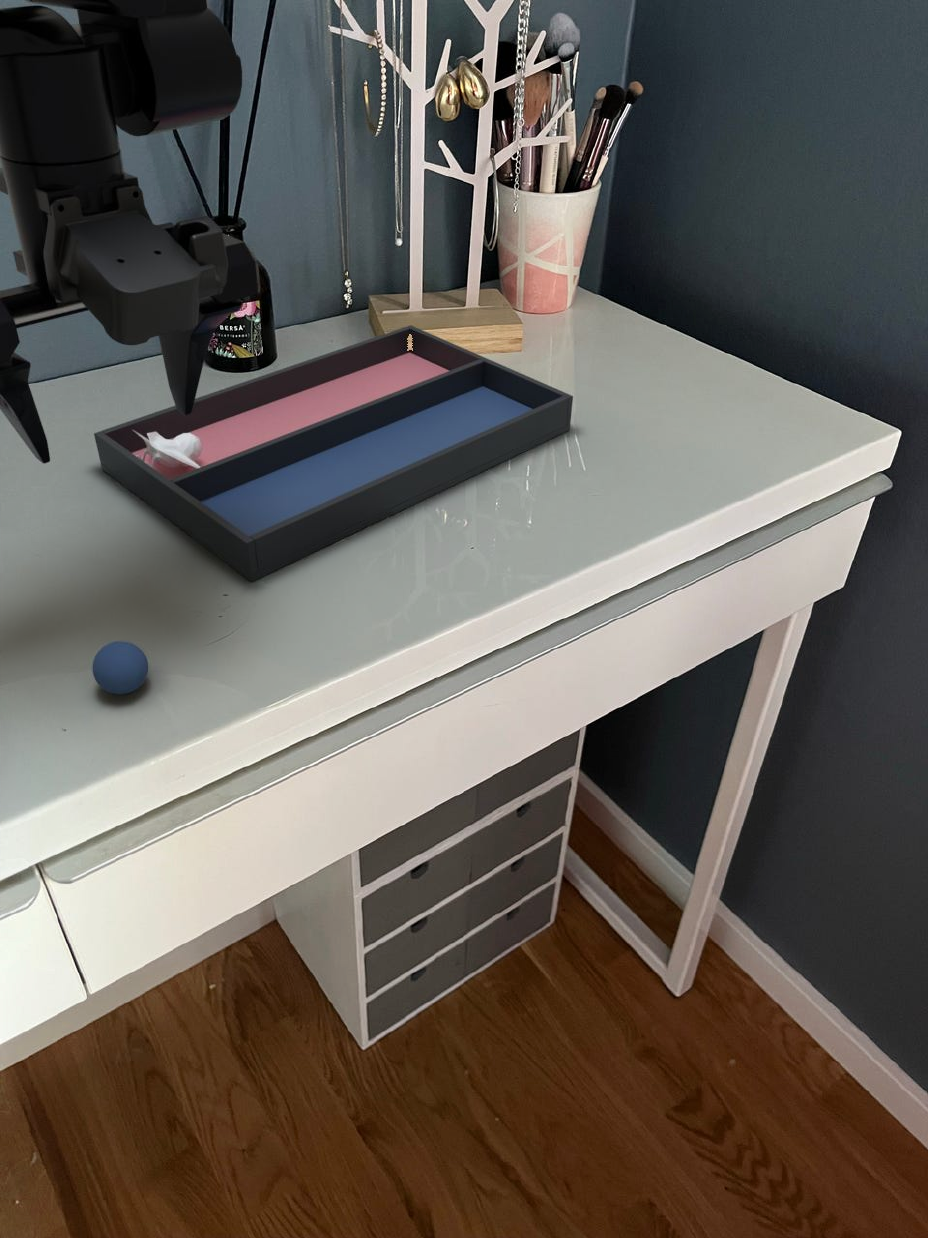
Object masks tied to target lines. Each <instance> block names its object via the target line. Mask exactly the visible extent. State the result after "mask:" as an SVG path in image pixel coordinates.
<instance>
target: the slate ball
mask: <svg viewBox="0 0 928 1238" xmlns="http://www.w3.org/2000/svg"><path fill="white" fill-rule="evenodd" d="M148 672H149V661H148V658H147V655H146V654H145V651H143V649H141V648H140V647H139V646H138V645H136V644H135V643H132V642H130V641H126V640H125V641H124V640H118V641H112V642H109V643H107V644H106V645H104V646H102V647H101V648H100V649H99V650H98V651H97V652H96V654H95V656H94V658H93V661H92V676H93V678H94V680H95V682H96V683H97V684H98V686H99V687H100V688H102V689H103V690H105V691H106V692H109V693H111V694H115V695H125V694H129V693H131V692H135V690H137V689H139V688H140V687H141V686H142V685H143V684H144V682H145V681H146V679H147V676H148V674H149V673H148Z"/></svg>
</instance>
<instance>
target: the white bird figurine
mask: <svg viewBox="0 0 928 1238" xmlns="http://www.w3.org/2000/svg"><path fill="white" fill-rule="evenodd" d="M133 431H134V430H133ZM134 432H135V433H137V432H136V431H134ZM137 434H138V435H139V436H140V437H141V438H143V439H144V441H145V443H146V445H147V448H146V450H145V451H144V454H143V458H141V457H140V456H139V455H136V456H137V457H138V458H139V459H141V460H142V461H143V462H144V459H145V456H146V453H147V454H149V455H150V456H151V457H152V458H153V459H152V463H151V465H149V464H148V463H147V462H145V463H146V464H148V465H149V466H150V467H152V468H153V464H154V461H155V460H156V461H157V462H158V463H160V464H162V465H164V466H166V467H173V468H174V467H177V466H179V465H182V466H186V467H187V466H188V465H191V466H193V467H196V468H200V466H199V465H198V464H196V463H195V462H194V461H195V460H197V459H198V458H199V456H200V455H201V451H202V445H201V441H200V440H199V437H198V438H197V437H196V436H195V435H193V434H191V433H183V434H181V435H178V436H177V437H175V438H174V439H173V440H169V439H165V438H163V437H162V436H160V435H159V434H158V433H157V432H151V433H147V435H148V438H149V440H148V439H147V438H145V437H144V436H142V435H141V434H139V433H137Z"/></svg>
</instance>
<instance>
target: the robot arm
mask: <svg viewBox="0 0 928 1238" xmlns="http://www.w3.org/2000/svg"><path fill="white" fill-rule="evenodd" d="M24 1H25V2H27V3H31V4H34V5H23V6H12V7H0V164H1V167H0V192H1V193H3V194H5V195H7V196H8V199H9V203H10V207H11V212H12V216H13V220H14V225H15V228H16V233H17V237H18V241H19V242H18V243H19V246H20V249H21V250H20V249H19V250H15V251H12V254H13V259H14V264H15V267H16V271H17V272H18V273H20V274H22V275H23V276H26V277H27V280H28V284H24V285H19V286H15V287H11V288H6V289H2V290H0V411H1V412H2V414H3V416H4V417H5V418H6V419H7V421H8V422H9V423H10V425H11V426H12V427H13V429H14V430H15V432H16V433H17V434H18V436H19V437H20V439H22V441H23V442H24V444H25V445H26V447H27V448H28V449H29V450H30V452H31V453H32V454H33V456H34V457H35V459H36V460H38V461H39V462H41V463H42V464H44V465H45V464H48V463H50V462H51V454H50V449H49V443H48V439H47V435H46V432H45V429H44V427H43V423H42V420H41V417H40V414H39V411H38V409H37V405H36V402H35V400H34V399H35V398H34V396H33V393H32V390H31V388H30V385H29V377H30V373H31V372H30V371H31V367H32V365H31V364H32V363H31V362H30V361H29V360H27V359H26V358H24V357H22V356H21V355H19V354H18V353H16V352H15V351H16V350H17V348H18V346H19V345H20V343H21V340H20V337H19V333H18V330H17V329H20V328H24V327H28V326H32V325H35V324H40V323H45V322H48V321H52V320H57V319H60V318H64V317H68V316H71V315H76V314H79V313H83V312H88V311H89V312H90V313H91V315H92V316H93V317H94V318H95V319H96V320H97V321H98V322H99V323H100V324H101V326H102V327H103V329H104V331H105V333H106V334H107V336H109V338H110V339H111V340H113V341H114V342H117V343H118V344H120V345H123V346H138V345H142V344H145V343H147V342H148V341H149V340H150V339H152V338H155V337H158V339H159V345H160V349H161V354H162V358H163V364H164V368H165V373H166V378H167V382H168V386H169V390H170V393H171V397H172V400H173V402H174V406H176V409H177V410H178V412H180V413H181V414H183V415H185V416H187V415H190V414H191V413H192V409H193V405H194V401H195V399H196V398H197V397H196V396H197V393H198V388H199V384H200V379H201V377H202V371H203V368H204V363H205V359H206V354H207V351H208V349H209V346H210V343H211V341H212V337H213V335H214V332H215V330H216V329H217V328H218V327H219V326H220V325H221V324H222V323H223V322H224V321H225V320H226V319H227V318H228V317H229V316H230V315H233V314H235V313H239V312H241V310H242V308H243V306H244V301H243V300H242V299H244V298H245V299H246V298H248V297H251V296H256V295H259V293H260V291H261V280H260V268H259V260H258V259H257V257H256V255H255V254H254V252H253V250H252V248H251V247H249V245H248V244H247V243H246V242H245V241H243V240H240V239H239V238H235V237H233V236H230V235H229V234H225V233H223V232H224V231H223V229H222V227H220V226H219V225H218V224H217V223H216V222H215V221H214V220H213V219H212V218H211V217H210V216H208V215H203V216H200V217H195V218H194V217H193V218H189V219H184V220H179V221H177V222H176V223H175V224H174V223H173V222H172V221H170V222H165V223H160V224H154V222H153V221H152V218H151V216H150V214H149V212H148V209H147V207H146V205H145V198H144V193H143V190H142V189H141V187H140V184H139V179H138V176H136V175H135V176H134V175H132V174H129V173H128V172H125V169H124V162H123V158H122V157H123V156H122V150H121V146H120V145H121V144H120V140H119V139H120V138H119V134H118V128H119V129H120V131H122V132H125V133H126V134H128V135H130V136H134V137H145V136H149V135H154V134H159V133H164V132H170V131H174V130H178V129H179V130H180V129H184V128H188V127H193V126H197V125H203V124H208V123H212V122H217V121H222V120H224V119H226V118H228V117H230V115H231V114H232V113H233V112H234V111H235V109H236V108H237V105H238V103H239V101H240V99H241V94H242V89H243V67H242V60H241V56H239V54H237V51H236V47H235V45H234V44H235V43H234V42H233V40H232V38H231V35H230V33H229V30H228V29H227V27H226V26H225V25H224V23H223V22H222V20H221V19H220V17H219V16H217V15H216V14H215V13H214V11H212V10H211V9H210V8H208V1H207V0H24ZM48 6H49V7H48ZM51 7H56V8H63V9H69V10H76V12H77V17H78V23H74V24H71V23H70V22H69V21H68V20H67V19H66V18H65V17H64V16H63V15H62V14H60V13H59V12H57V11H56V10H54V9H52V8H51ZM117 127H118V128H117Z"/></svg>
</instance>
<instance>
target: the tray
mask: <svg viewBox="0 0 928 1238" xmlns="http://www.w3.org/2000/svg"><path fill="white" fill-rule="evenodd" d="M409 334H411V335H412V338H413V339H412V340H413V341H412V343H413V344H412V345H413V346H412V348H413V351H412V350H409V351H407V349H408V347H407V346H408V345H407V344H408V342H407V341H408V340H407V338H408V336H409ZM573 401H574V395H571V394H569V393H567V392H565V391H562V390H561V389H558V388H555V387H553V386H551V385H548V384H546V383H544V382H542V381H539V380H538V379H535V378H533V377H530V376H529V375H526V374H523V373H521V372H519V371H517V370H514V369H512V368H510V367H507V366H505V365H503V364H501V363H498V362H496V361H494V360H491V359H489V358H487V357H484V356H483V355H480V354H477V353H475V352H473V351H471V350H469V349H466V348H465V347H461V346H459V345H457V344H455V343H452V342H451V341H448V340H445V339H443V338H441V337H439V336H437V335H435V334H432V333H429V332H428V331H425V330H423V329H420V328H418V327H416V326H414V325H412V324H410V325H407V326H404V327H401V328H398V329H396V330H392V331H389V332H386V333H383V334H381V335H377V336H375V337H372V338H368V339H366V340H363V341H360V342H357V343H354V344H351V345H348V346H345V347H343V348H342V347H341V348H339V349H337V350H334V351H330V352H327V353H325V354H322V355H319V356H317V357H316V356H315V357H312V358H311V359H307V360H305V361H302V362H299V363H295V364H293V365H290V366H286V367H284V368H280V369H278V370H275V371H271V372H269V373H266V374H264V375H260V376H258V377H255V378H252V379H248V380H245V381H243V382H240V383H237V384H234V385H231V386H228V387H225V388H222V389H220V390H217V391H213V392H211V393H208V394H204V395H202V396H199V397H195V401H194V405H193V409H192V413H191V414H190V415H187V416H185V415H183V414H181V413H180V412H178V410H177V409H176V406H175V405H173V406H170V407H166V408H164V409H160V410H158V411H155V412H152V413H149V414H147V415H143V416H140V417H137V418H134V419H132V420H129V421H126V422H123V423H119V424H117V425H114V426H111V427H108V428H105V429H102V430H101V431H100V430H99V431H97V432H94V433H93V436H94V440H95V444H96V449H97V453H98V454H97V455H98V459H99V461H100V466H101V470H102V471H104V472H105V473H107V475H109V476H110V477H112V478H113V479H114V480H116V481H117V482H118V483H120V484H121V485H122V486H123V487H125V488H127V489H128V490H129V491H130V492H132V493H133V494H135V495H136V496H137V497H138V498H139V499H141V500H143V501H144V502H145V504H148V505H149V506H150V507H152V508H153V509H154V510H156V511H157V512H159V513H160V514H161V515H162V516H164V517H165V518H166V519H167V520H168V521H170V522H171V523H173V524H174V525H176V526H177V527H178V528H179V529H181V530H182V531H183V532H185V533H186V534H187V535H189V536H190V537H191V538H193V539H194V540H196V542H198V543H200V544H201V545H202V546H204V547H205V548H206V549H207V550H208V551H210V552H211V553H213V554H214V555H216V556H217V557H218V558H219V559H221V560H222V561H223V562H225V564H227V565H229V566H230V567H231V568H232V569H234V570H235V571H237V572H238V573H240V575H242V576H243V577H245V579H247V580H249V581H250V582H252V583H253V582H255V581H257V580H259V579H261V578H263V577H266V576H267V575H269V574H271V573H273V572H276V571H277V570H280V569H282V568H284V567H286V566H288V565H290V564H293V563H294V562H296V561H298V560H300V559H304V557H307V556H309V555H311V554H313V553H315V552H318V551H319V550H322V549H324V548H326V547H328V546H330V545H332V544H334V543H336V542H338V541H340V540H343V539H344V538H347V537H349V536H351V535H353V534H355V533H358V532H359V531H362V530H364V529H365V528H367V527H370V526H371V525H374V524H376V523H378V522H380V521H382V520H384V519H386V518H388V517H390V516H393V515H395V514H397V513H398V512H401V511H404V510H406V509H408V508H410V507H411V506H413V505H416V504H418V503H420V502H422V501H424V500H427V499H429V498H430V497H433V496H435V495H437V494H438V493H441V492H443V491H445V490H447V489H449V488H451V487H453V486H455V485H458V484H459V483H462V482H464V481H466V480H468V479H470V478H472V477H474V476H476V475H478V474H480V473H482V472H485V471H487V470H489V469H491V468H493V467H495V466H497V465H500V464H501V463H504V462H506V461H509V460H510V459H512V458H514V457H517V456H519V455H520V454H522V453H524V452H526V451H529V450H531V449H533V448H535V447H537V446H539V445H541V444H543V443H545V442H548V441H550V440H552V439H555V438H556V437H558V436H560V435H562V434H564V433H567V432H569V431H570V430H571V422H572V411H573ZM133 430H134V431H136V432H137V433H139V434H141V435H142V436H144V437H145V438H147V439H148V440H149V438H148V435H147V433H151V432H157V433H158V434H159V435H160V436H162V437H163V438H165V439H169V440H173V439H174V438H175V437H177V436H178V435H181V434H183V433H191V434H193V435H195V436H196V437H197V438H198V437H199V440H200V441H201V445H202V451H201V455H200V456H199V458H198V459H197V460H195V461H194V462H195V463H196V464H198V465H199V466H200V468H196V467H193V466H191V465H188V466H187V467H186V466H182V465H179V466H177V467H174V468H173V467H166V466H164V465H162V464H160V463H158V462H157V461H156V460H155V461H154V464H153V468H152V467H150V466H149V465H151V463H152V459H153V458H152V457H151V456H150V455H149V454H147V453H146V456H145V459H144V462H143V461H142V460H141V459H139V458H138V457H137V456H136V455H139V456H140V457H141V458H143V454H144V451H145V450H146V448H147V445H146V443H145V441H144V439H143V438H141V437H140V436H139V435H138V434H137V433H135V432H134V431H133ZM145 462H147V463H148V464H149V465H148V464H146V463H145Z"/></svg>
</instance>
